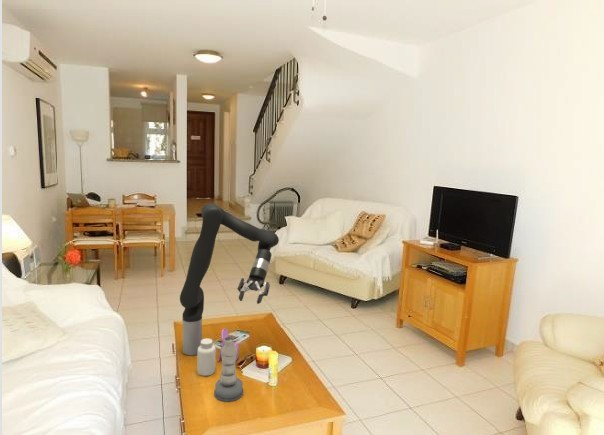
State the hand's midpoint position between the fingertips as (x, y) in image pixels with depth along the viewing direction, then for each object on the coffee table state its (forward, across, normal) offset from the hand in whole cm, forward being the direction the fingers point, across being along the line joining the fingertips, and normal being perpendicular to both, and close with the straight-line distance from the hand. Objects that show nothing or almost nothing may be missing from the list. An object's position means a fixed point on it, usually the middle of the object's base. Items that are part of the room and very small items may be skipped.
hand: (249, 301), depth 187 cm
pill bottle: (+30, -16, +16) cm, 37 cm away
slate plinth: (+38, +1, +8) cm, 38 cm away
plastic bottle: (+35, 0, +5) cm, 35 cm away
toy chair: (+21, -11, +26) cm, 35 cm away
